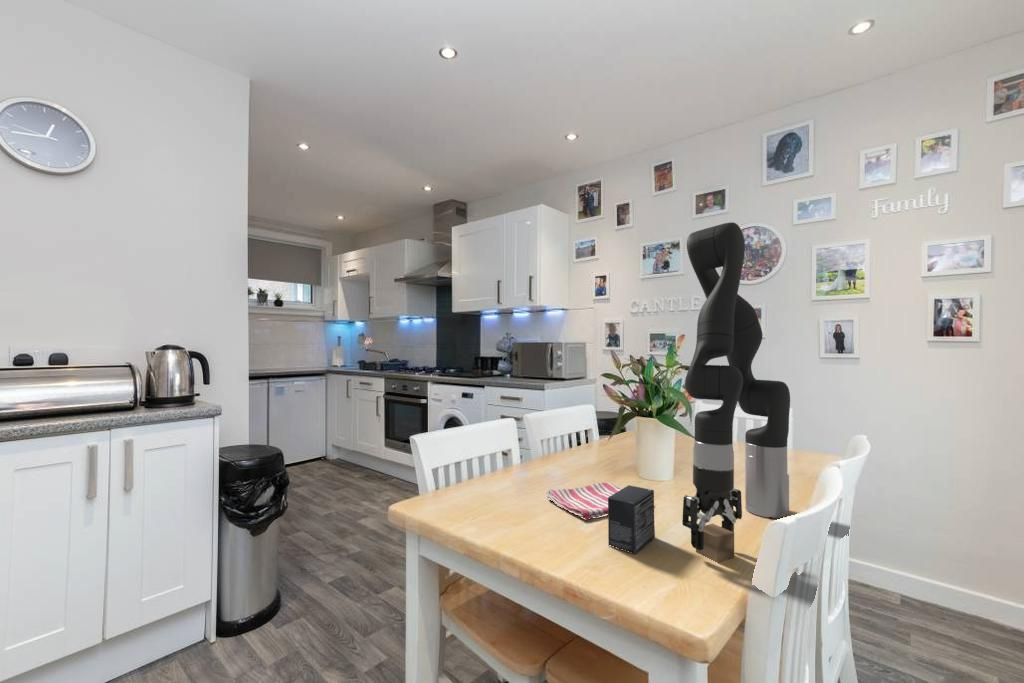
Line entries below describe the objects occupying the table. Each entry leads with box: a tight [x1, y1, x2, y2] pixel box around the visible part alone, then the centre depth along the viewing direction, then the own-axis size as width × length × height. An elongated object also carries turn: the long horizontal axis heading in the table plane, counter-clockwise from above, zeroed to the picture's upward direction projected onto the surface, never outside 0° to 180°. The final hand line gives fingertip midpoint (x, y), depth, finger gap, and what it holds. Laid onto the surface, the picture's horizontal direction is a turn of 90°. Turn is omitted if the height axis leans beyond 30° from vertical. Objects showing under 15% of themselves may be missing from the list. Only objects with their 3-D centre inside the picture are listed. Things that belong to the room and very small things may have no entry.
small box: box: [607, 485, 656, 554], centre depth 95 cm, size 11×6×10 cm, turn 141°
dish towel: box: [546, 482, 623, 520], centre depth 118 cm, size 17×23×4 cm
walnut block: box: [695, 523, 735, 563], centre depth 89 cm, size 5×5×5 cm
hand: (712, 544), depth 89 cm, fingers open, 8 cm apart
